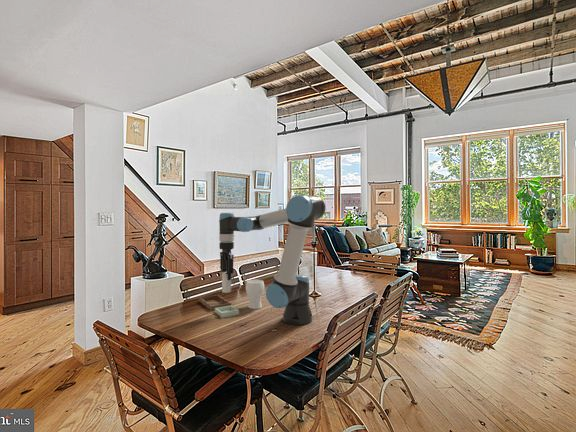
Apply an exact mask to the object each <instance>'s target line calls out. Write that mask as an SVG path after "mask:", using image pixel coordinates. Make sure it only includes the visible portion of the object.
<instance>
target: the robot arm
mask: <svg viewBox="0 0 576 432" xmlns="http://www.w3.org/2000/svg"><path fill="white" fill-rule="evenodd" d="M326 210H327V208H326V203H325V201H324V199H322V198H321V197H320V196H318V195H307V194H299V195H295V196H293V197H291V198H290V199H289V200H288V201H287V203H286V206H285V208H282V209H278V210H275V211H271V212H267V213H264V214H259V215H255V216H234V212H220V213H219V221H218V222H219V234H218V235H219V239H218V240H219V245H218V246H219V247H218V248H219V250H221V251H220V252H219V258H220V259H219V260H220V261H219V263H220V266H219V267H220V271H221V274H222V273H224V272H227V273H225V274H226V286H231V287H232V274H234V257H235V256H234V254H232V250H233V249H234V247H235V242H234V238H235V233H234V232H242V233H249V232H251V231H252V232H253V231H261V230H264V229H268V228H272V227H276V226H280V225H285V224H288V225H289V226H288V227H289V228H288V232H287V236H286V241H285V245H284V248H283V252H282V257H281V259H280V260H281V261H280V264H279V268H278V273H276V274H274V276H273V279H272V283H271V284H269V285H268V286H266V289H265V297H266V300H267V302H268V303H269V305H270V306H272V307H273V308H275V309H283V308H284V310H283V314H282V321H283V322H284V323H286V324H289V325H294V326H295V325H297V326H298V325H301V326H302V325H306V324H309V323H311V322H312V321H313V314H312V311H311V307H310V277H309V276H307V275H303V274H298V271H299V266H300V262H301V258H302V255H303V250H304V248H305V243H306V240H307V236H308V232H309V230H310V229H312V228H313V225H314V221H317V220H320V219H321V218H322V217H323V216H324V215H325V213H326Z"/></svg>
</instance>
